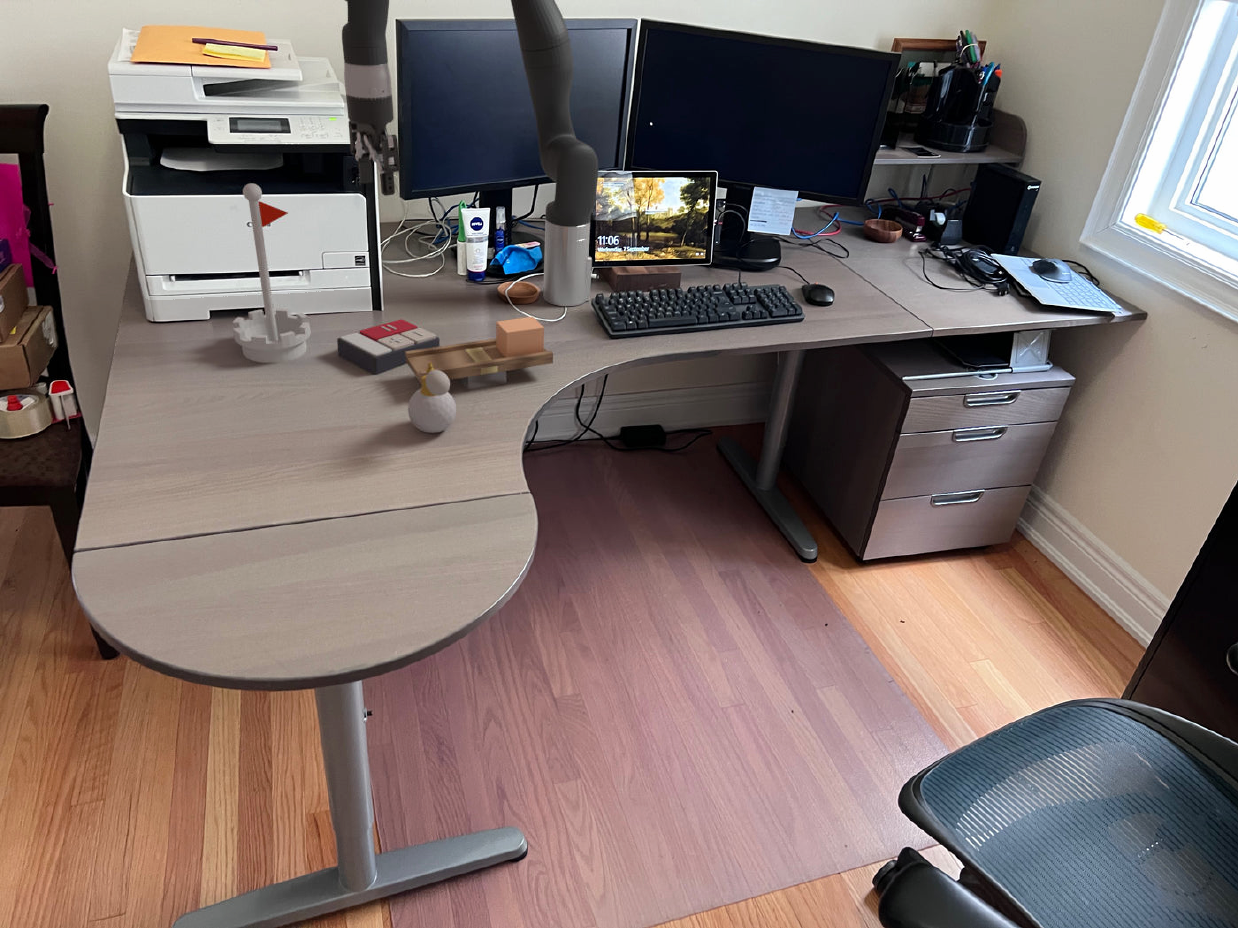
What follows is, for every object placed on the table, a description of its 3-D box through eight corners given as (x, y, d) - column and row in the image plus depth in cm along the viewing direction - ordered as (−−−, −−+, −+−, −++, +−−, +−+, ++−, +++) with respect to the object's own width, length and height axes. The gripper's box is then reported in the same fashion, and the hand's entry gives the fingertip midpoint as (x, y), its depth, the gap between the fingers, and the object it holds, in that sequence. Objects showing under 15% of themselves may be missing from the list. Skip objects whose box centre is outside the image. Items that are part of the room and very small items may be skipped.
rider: (532, 342, 165) (532, 316, 163) (543, 353, 162) (544, 327, 159) (496, 347, 162) (496, 321, 160) (506, 359, 159) (506, 332, 156)
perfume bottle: (436, 412, 149) (434, 346, 143) (475, 434, 144) (474, 367, 138) (399, 427, 144) (394, 359, 138) (438, 451, 139) (435, 381, 133)
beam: (532, 357, 169) (533, 333, 167) (552, 378, 163) (553, 353, 160) (406, 377, 159) (405, 351, 156) (422, 400, 152) (421, 373, 150)
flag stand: (237, 368, 157) (208, 196, 141) (235, 338, 167) (207, 174, 152) (316, 361, 162) (296, 193, 146) (309, 332, 172) (289, 172, 156)
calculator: (440, 334, 167) (374, 354, 157) (440, 355, 170) (375, 376, 159) (402, 316, 173) (335, 334, 162) (402, 337, 175) (336, 356, 165)
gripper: (409, 98, 149) (415, 196, 158) (370, 82, 158) (378, 176, 167) (366, 101, 145) (375, 202, 153) (329, 85, 154) (340, 181, 163)
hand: (377, 188), depth 160 cm, fingers open, 8 cm apart
